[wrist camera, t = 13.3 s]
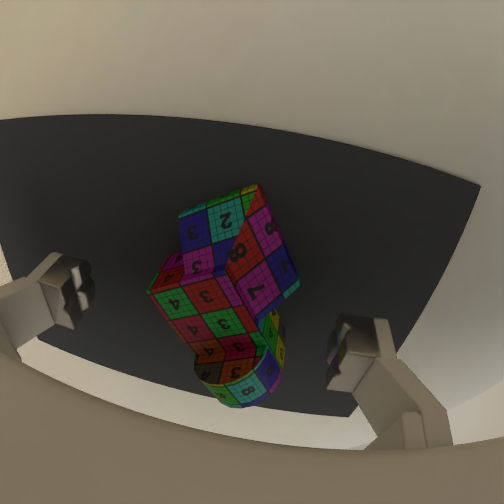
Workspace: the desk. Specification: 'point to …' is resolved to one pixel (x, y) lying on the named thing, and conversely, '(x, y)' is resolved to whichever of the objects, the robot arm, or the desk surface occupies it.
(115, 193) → the mat
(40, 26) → the desk surface
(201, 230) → the block
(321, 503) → the robot arm
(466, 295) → the desk surface
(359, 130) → the desk surface
